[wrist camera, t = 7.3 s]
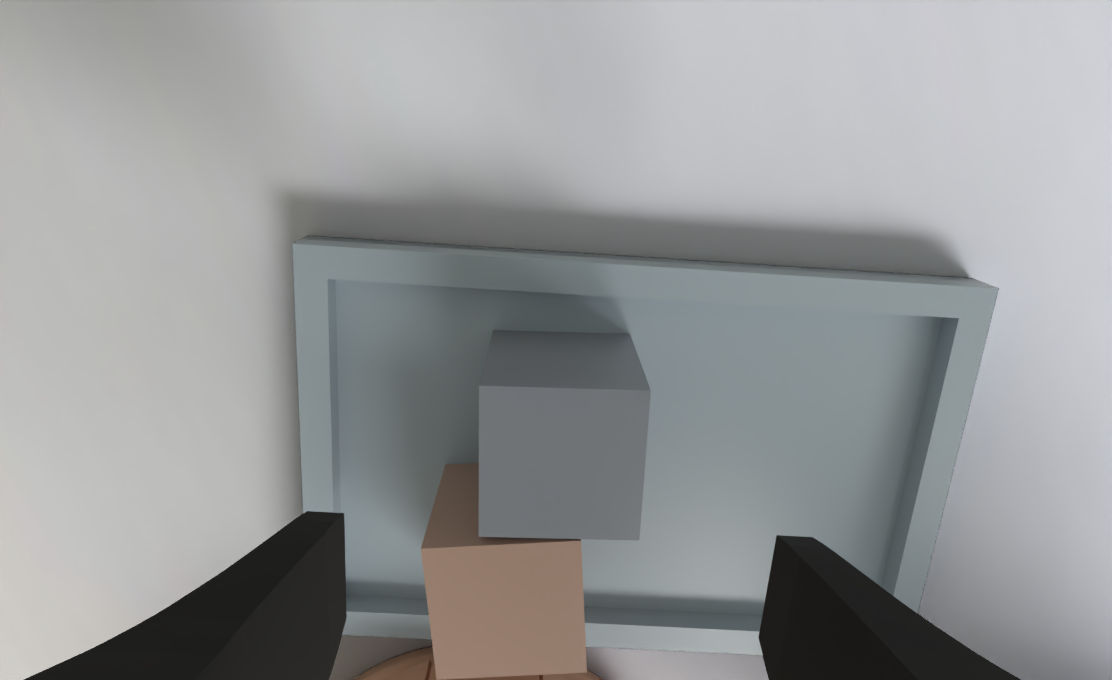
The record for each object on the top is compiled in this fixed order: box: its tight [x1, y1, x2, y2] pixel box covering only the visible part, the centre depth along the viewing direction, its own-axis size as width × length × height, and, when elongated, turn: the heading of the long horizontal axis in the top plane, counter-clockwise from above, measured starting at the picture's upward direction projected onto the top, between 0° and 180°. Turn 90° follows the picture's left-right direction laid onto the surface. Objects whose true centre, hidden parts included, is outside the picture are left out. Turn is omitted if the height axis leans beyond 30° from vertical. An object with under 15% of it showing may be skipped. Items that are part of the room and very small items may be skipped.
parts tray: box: [292, 236, 999, 655], centre depth 20 cm, size 17×11×1 cm, turn 86°
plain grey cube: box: [479, 330, 651, 540], centre depth 17 cm, size 4×4×4 cm
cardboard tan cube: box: [421, 463, 587, 680], centre depth 18 cm, size 4×4×4 cm
